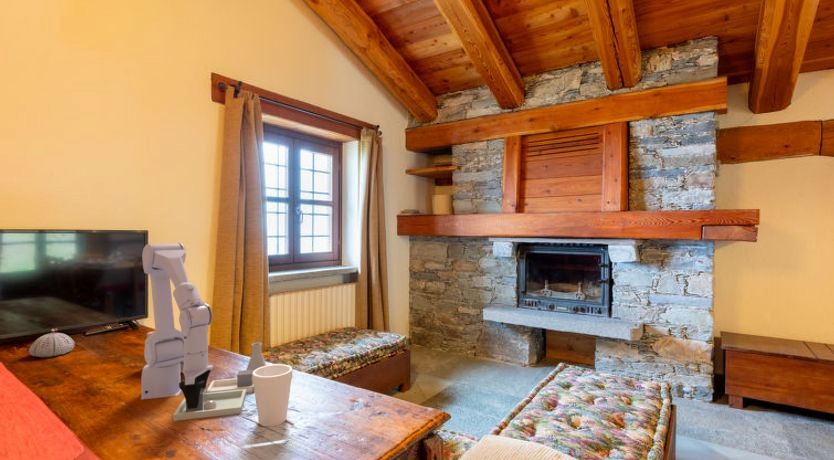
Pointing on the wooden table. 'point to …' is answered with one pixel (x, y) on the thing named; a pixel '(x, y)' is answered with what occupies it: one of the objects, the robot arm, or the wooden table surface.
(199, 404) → the grey cube
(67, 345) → the sea urchin shell
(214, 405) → the pale pink ball
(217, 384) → the dish
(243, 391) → the bin
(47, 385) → the wooden table surface
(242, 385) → the grey cube
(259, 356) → the flask
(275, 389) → the foam cup
